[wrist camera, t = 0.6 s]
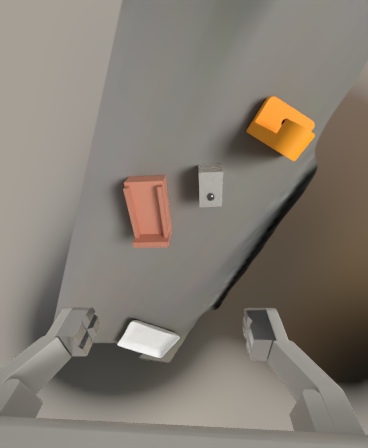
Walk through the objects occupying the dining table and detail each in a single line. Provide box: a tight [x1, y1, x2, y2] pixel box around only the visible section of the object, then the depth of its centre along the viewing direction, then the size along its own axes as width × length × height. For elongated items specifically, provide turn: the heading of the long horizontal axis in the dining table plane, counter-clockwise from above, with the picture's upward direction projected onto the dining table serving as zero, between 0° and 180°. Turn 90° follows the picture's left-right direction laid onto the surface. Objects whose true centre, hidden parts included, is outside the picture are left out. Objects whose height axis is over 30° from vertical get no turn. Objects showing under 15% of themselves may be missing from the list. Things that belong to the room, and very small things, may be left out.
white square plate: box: [117, 320, 180, 358], centre depth 85 cm, size 21×21×3 cm
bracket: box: [246, 97, 315, 161], centre depth 36 cm, size 11×7×12 cm, turn 64°
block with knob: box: [198, 164, 223, 207], centre depth 46 cm, size 8×5×6 cm, turn 4°
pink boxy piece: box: [123, 175, 172, 248], centre depth 50 cm, size 16×9×8 cm, turn 4°
